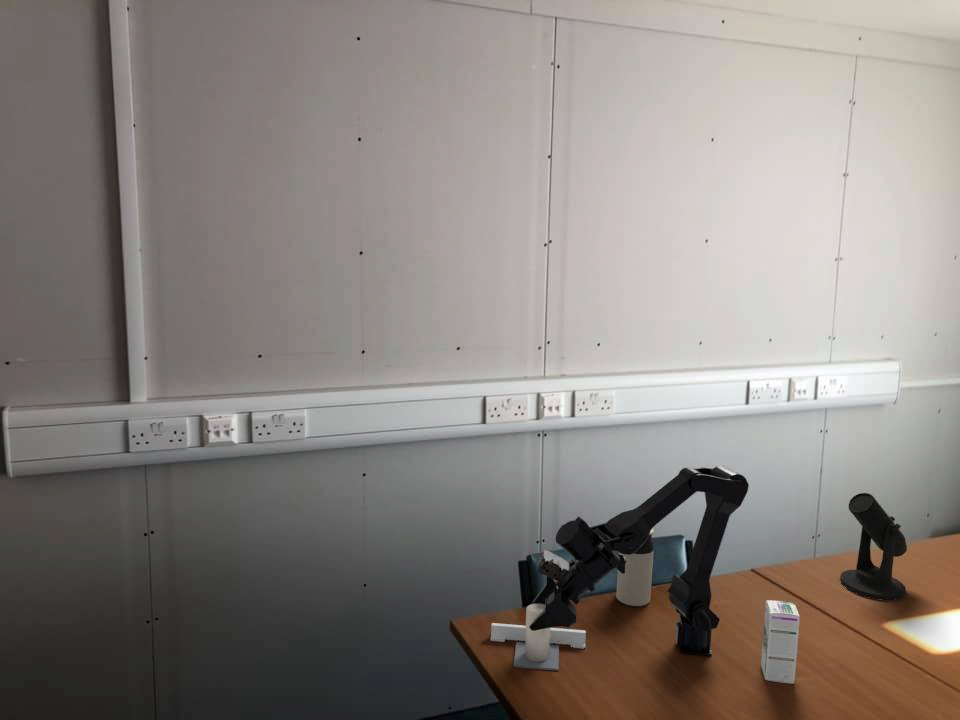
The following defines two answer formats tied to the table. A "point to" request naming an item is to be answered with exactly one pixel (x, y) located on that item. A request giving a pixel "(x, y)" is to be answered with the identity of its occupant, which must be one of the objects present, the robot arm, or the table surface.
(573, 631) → the light grey long bar
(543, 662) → the slate mat
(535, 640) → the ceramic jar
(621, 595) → the travel mug
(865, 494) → the microphone
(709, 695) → the table surface
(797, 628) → the syrup box
